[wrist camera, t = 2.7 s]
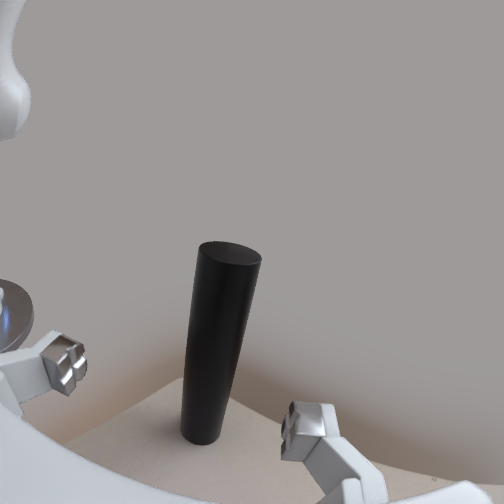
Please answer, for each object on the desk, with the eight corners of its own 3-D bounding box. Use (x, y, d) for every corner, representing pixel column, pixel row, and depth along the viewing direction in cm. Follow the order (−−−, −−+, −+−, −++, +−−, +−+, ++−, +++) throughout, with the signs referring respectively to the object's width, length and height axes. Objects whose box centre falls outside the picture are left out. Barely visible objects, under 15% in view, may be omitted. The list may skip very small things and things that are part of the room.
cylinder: (176, 439, 24) (191, 254, 18) (185, 411, 29) (206, 237, 22) (217, 448, 24) (261, 269, 18) (222, 419, 29) (262, 248, 22)
